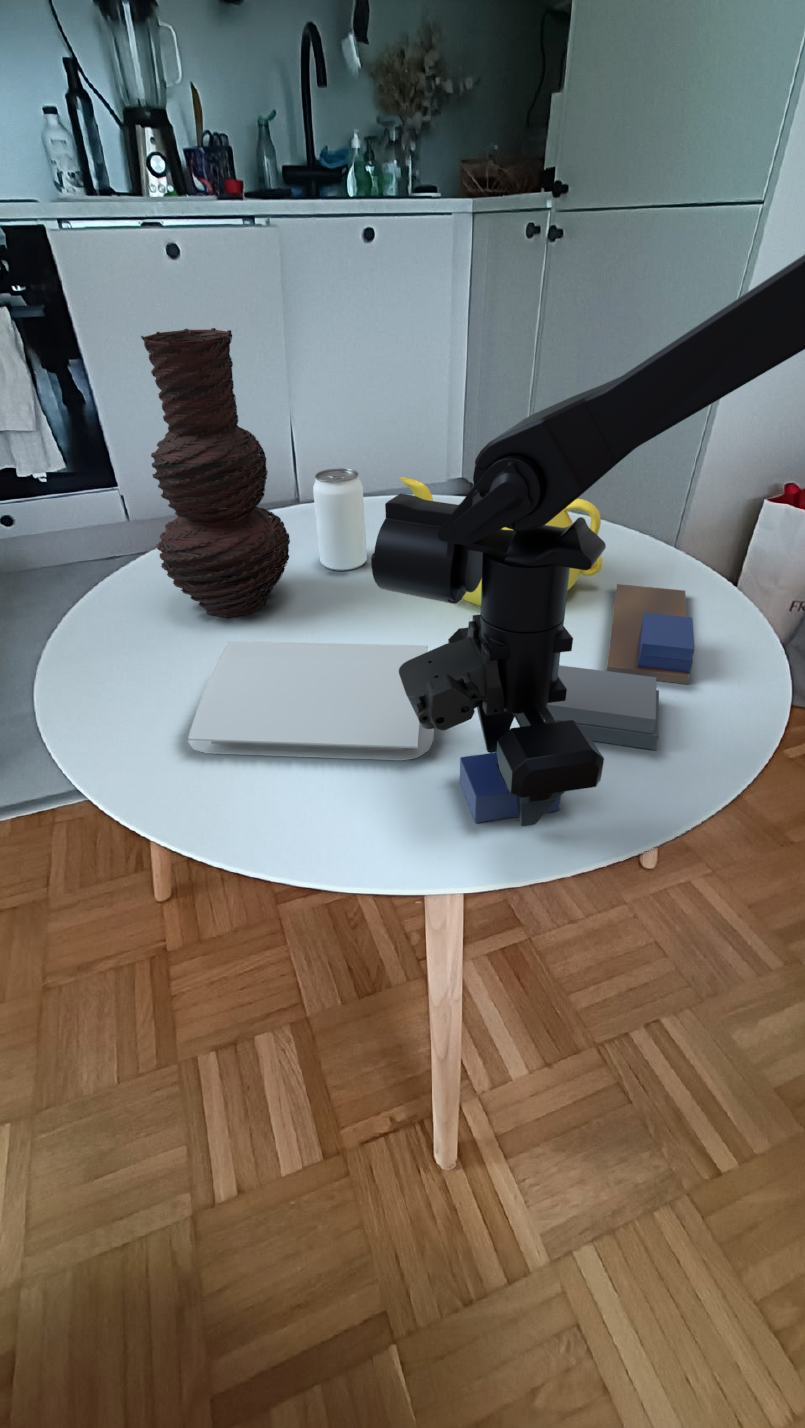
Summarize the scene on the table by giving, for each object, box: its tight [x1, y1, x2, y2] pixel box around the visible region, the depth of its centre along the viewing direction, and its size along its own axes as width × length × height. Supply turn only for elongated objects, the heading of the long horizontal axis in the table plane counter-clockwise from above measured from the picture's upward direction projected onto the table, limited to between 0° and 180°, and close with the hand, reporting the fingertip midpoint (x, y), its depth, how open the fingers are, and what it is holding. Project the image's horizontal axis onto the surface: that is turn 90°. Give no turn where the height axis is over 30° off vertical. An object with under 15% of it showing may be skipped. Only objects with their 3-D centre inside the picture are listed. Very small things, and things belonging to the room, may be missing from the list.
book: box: [187, 640, 436, 761], centre depth 69 cm, size 15×23×4 cm, turn 85°
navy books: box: [638, 613, 695, 674], centre depth 74 cm, size 7×5×3 cm
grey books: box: [547, 664, 660, 751], centre depth 67 cm, size 11×8×3 cm
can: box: [312, 467, 368, 572], centre depth 96 cm, size 6×6×12 cm
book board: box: [605, 583, 691, 685], centre depth 80 cm, size 8×20×1 cm, turn 163°
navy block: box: [459, 752, 562, 824], centre depth 58 cm, size 7×5×3 cm
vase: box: [140, 327, 291, 619], centre depth 81 cm, size 15×15×30 cm
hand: (509, 785), depth 58 cm, fingers open, 9 cm apart
